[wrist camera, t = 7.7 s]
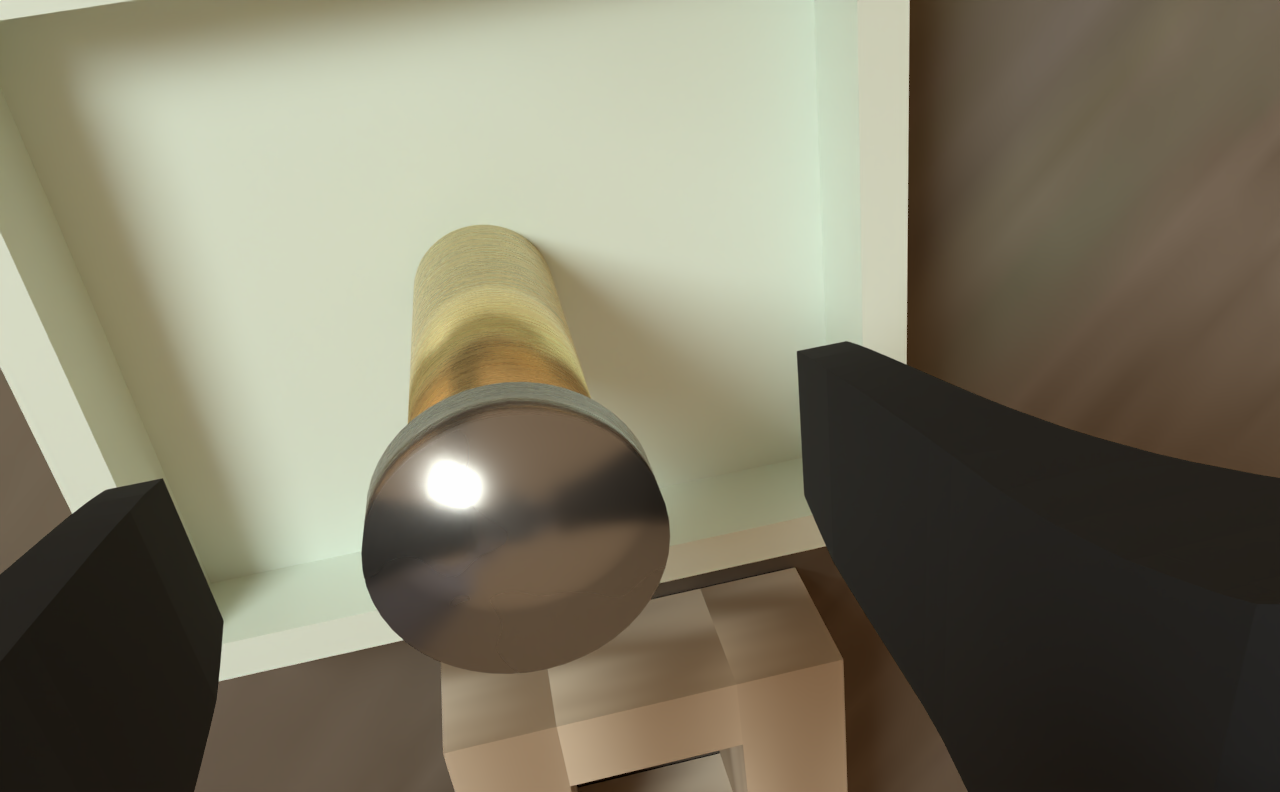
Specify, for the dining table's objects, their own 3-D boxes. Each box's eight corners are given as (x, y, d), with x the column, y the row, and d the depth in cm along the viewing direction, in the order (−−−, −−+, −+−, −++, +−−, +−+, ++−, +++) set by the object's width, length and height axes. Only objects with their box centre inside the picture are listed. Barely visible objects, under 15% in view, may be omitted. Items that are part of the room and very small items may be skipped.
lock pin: (413, 390, 18) (403, 702, 11) (368, 220, 17) (323, 453, 10) (588, 356, 19) (685, 636, 11) (559, 185, 17) (649, 386, 10)
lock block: (501, 854, 25) (510, 968, 23) (440, 646, 22) (443, 753, 19) (807, 778, 26) (850, 881, 24) (795, 567, 23) (843, 659, 20)
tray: (188, 604, 20) (161, 694, 18) (-100, -43, 14) (-192, -25, 12) (856, 460, 22) (905, 528, 20) (843, -179, 16) (910, -183, 14)
